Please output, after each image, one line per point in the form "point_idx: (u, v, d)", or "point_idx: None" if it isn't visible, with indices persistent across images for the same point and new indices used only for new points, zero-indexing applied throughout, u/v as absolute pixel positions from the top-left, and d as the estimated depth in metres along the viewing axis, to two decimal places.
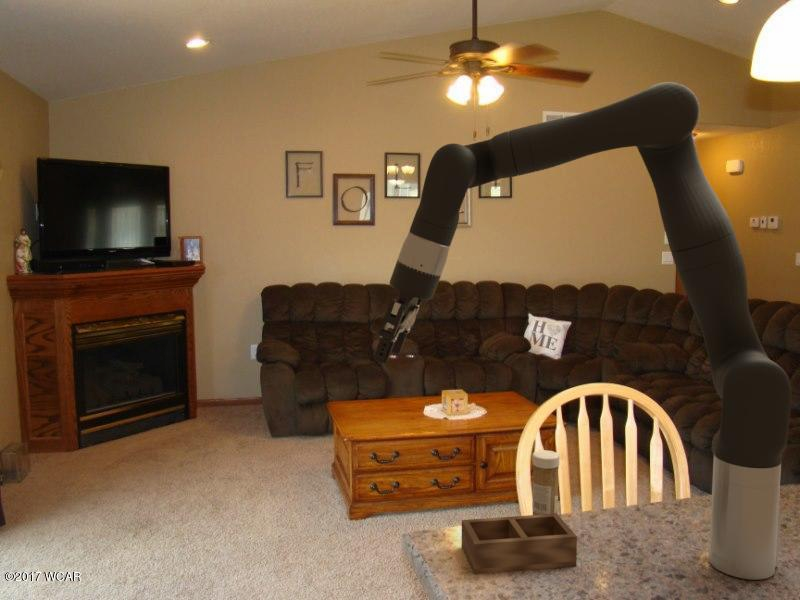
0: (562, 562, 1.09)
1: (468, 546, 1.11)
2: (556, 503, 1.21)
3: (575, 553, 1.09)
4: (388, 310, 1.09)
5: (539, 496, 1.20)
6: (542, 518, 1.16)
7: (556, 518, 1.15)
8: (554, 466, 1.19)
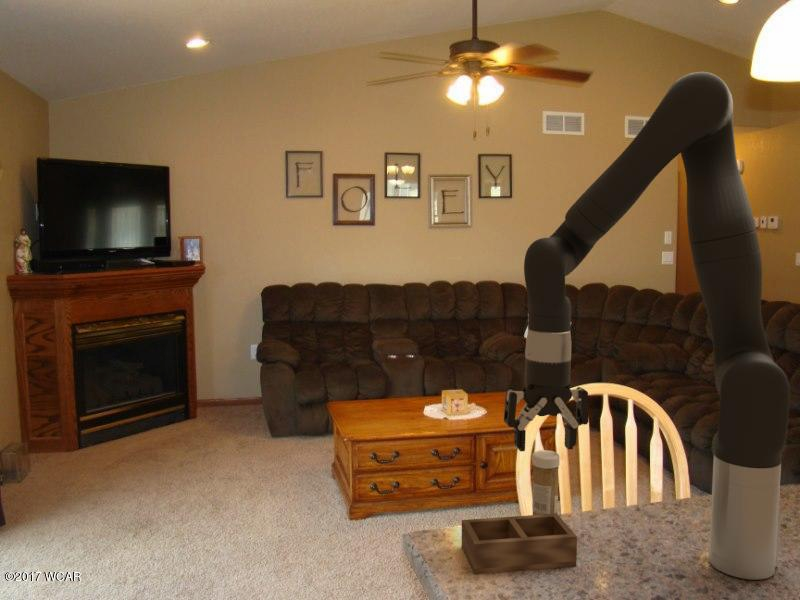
0: (562, 562, 1.09)
1: (468, 546, 1.11)
2: (556, 503, 1.21)
3: (575, 553, 1.09)
4: (505, 398, 1.20)
5: (539, 496, 1.20)
6: (542, 518, 1.16)
7: (556, 518, 1.15)
8: (554, 466, 1.19)
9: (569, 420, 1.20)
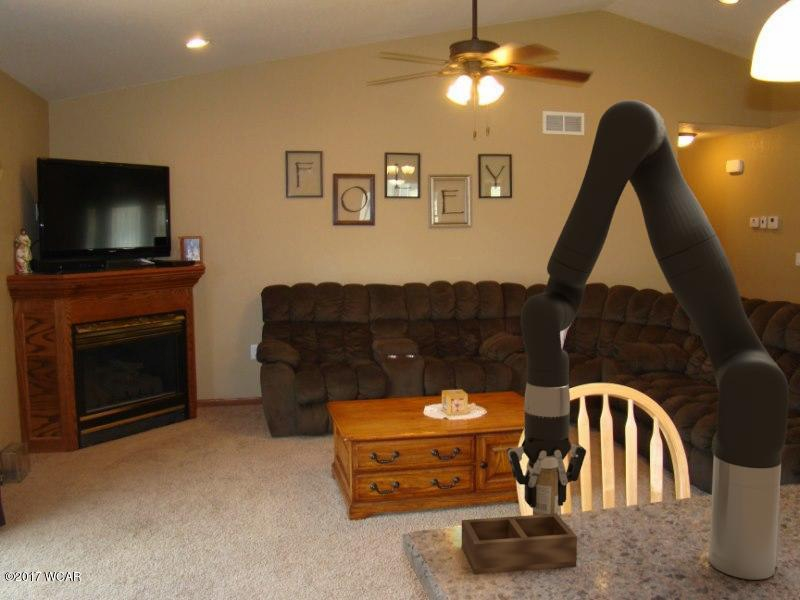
0: (562, 562, 1.09)
1: (468, 546, 1.11)
2: (556, 503, 1.21)
3: (575, 553, 1.09)
4: (508, 458, 1.21)
5: (539, 496, 1.20)
6: (542, 518, 1.16)
7: (556, 518, 1.15)
8: (554, 466, 1.19)
9: (558, 477, 1.21)
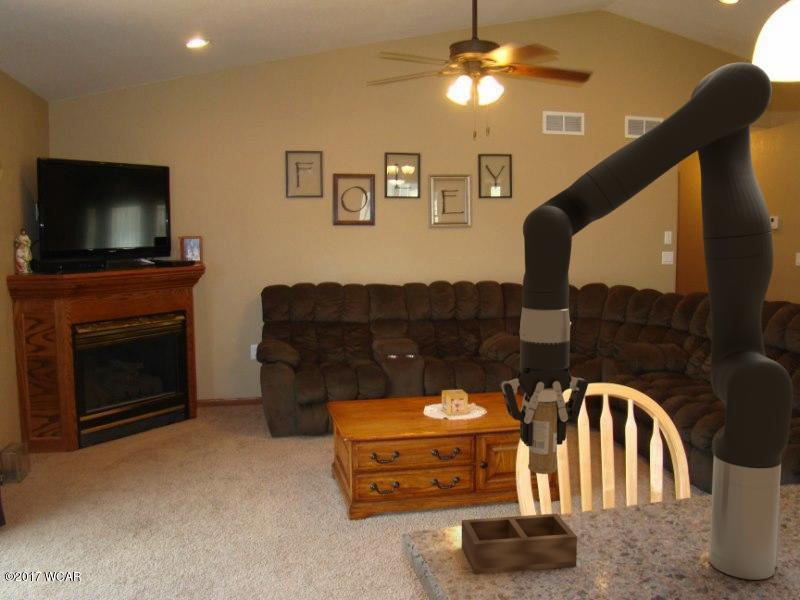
0: (562, 562, 1.09)
1: (468, 546, 1.11)
2: (555, 441, 1.09)
3: (575, 553, 1.09)
4: (502, 391, 1.10)
5: (536, 433, 1.09)
6: (542, 518, 1.16)
7: (556, 518, 1.15)
8: (553, 399, 1.08)
9: (557, 412, 1.09)
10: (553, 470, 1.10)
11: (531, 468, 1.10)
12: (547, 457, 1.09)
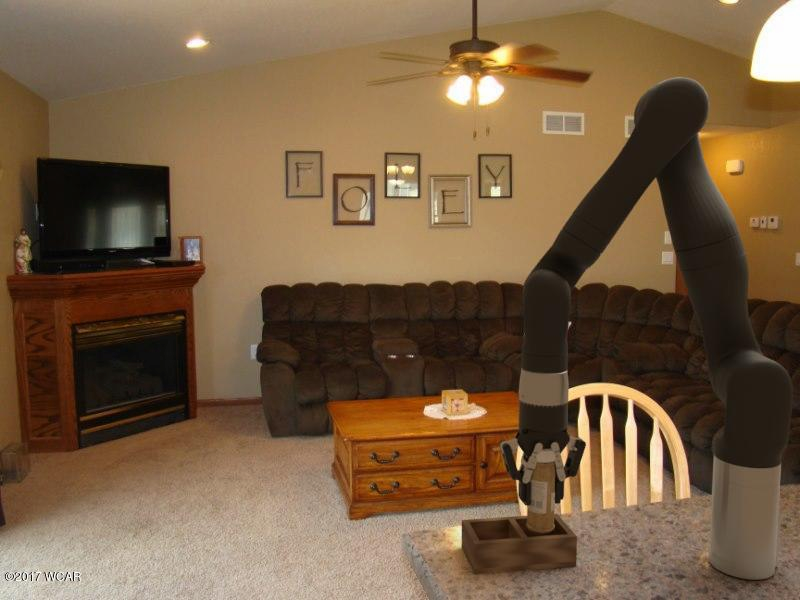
0: (562, 562, 1.09)
1: (468, 546, 1.11)
2: (553, 500, 1.10)
3: (575, 553, 1.09)
4: (501, 451, 1.11)
5: (534, 492, 1.10)
6: None
7: (556, 518, 1.15)
8: (551, 460, 1.09)
9: (556, 472, 1.10)
10: (551, 529, 1.11)
11: (529, 527, 1.11)
12: (545, 517, 1.10)
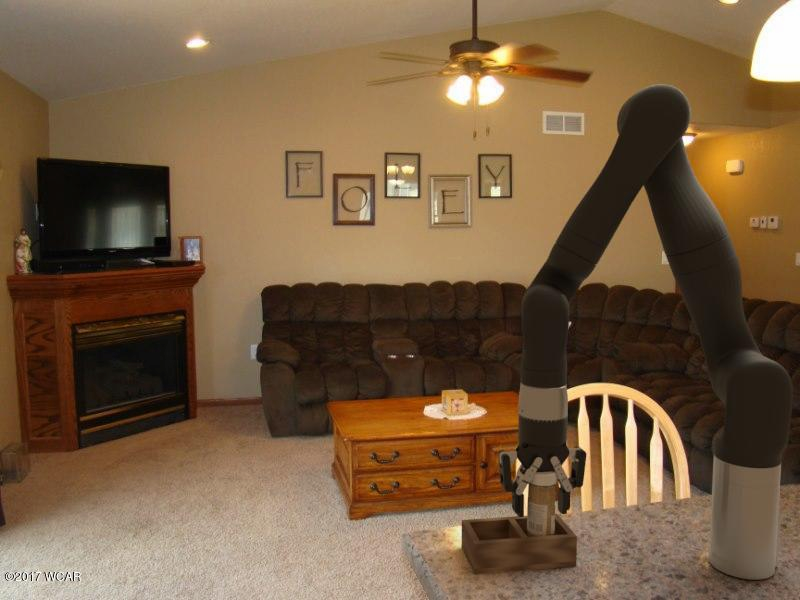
0: (562, 562, 1.09)
1: (468, 546, 1.11)
2: (553, 523, 1.11)
3: (575, 553, 1.09)
4: None
5: (534, 515, 1.10)
6: None
7: (556, 518, 1.15)
8: (551, 483, 1.09)
9: (562, 483, 1.11)
10: None
11: None
12: None
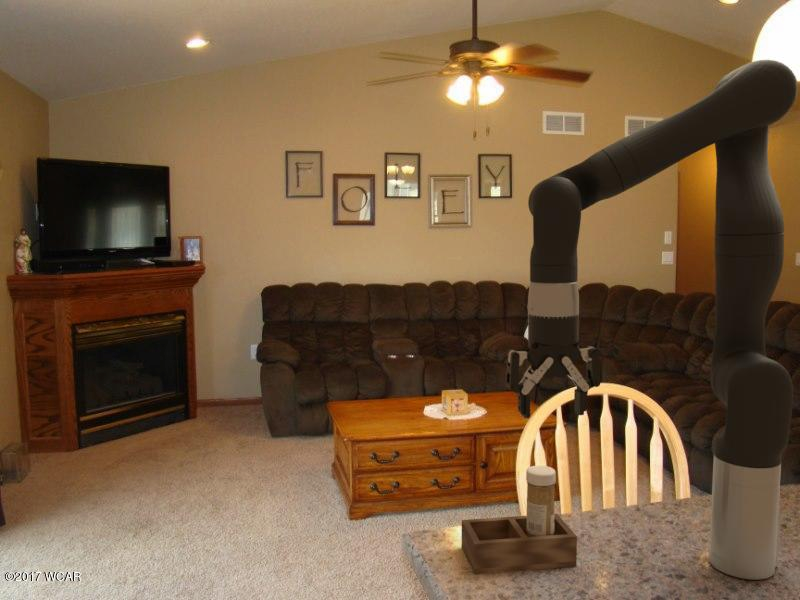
0: (562, 562, 1.09)
1: (468, 546, 1.11)
2: (552, 523, 1.11)
3: (575, 553, 1.09)
4: (507, 360, 1.08)
5: (533, 515, 1.10)
6: None
7: (556, 518, 1.15)
8: (550, 483, 1.10)
9: (579, 382, 1.07)
10: None
11: None
12: None
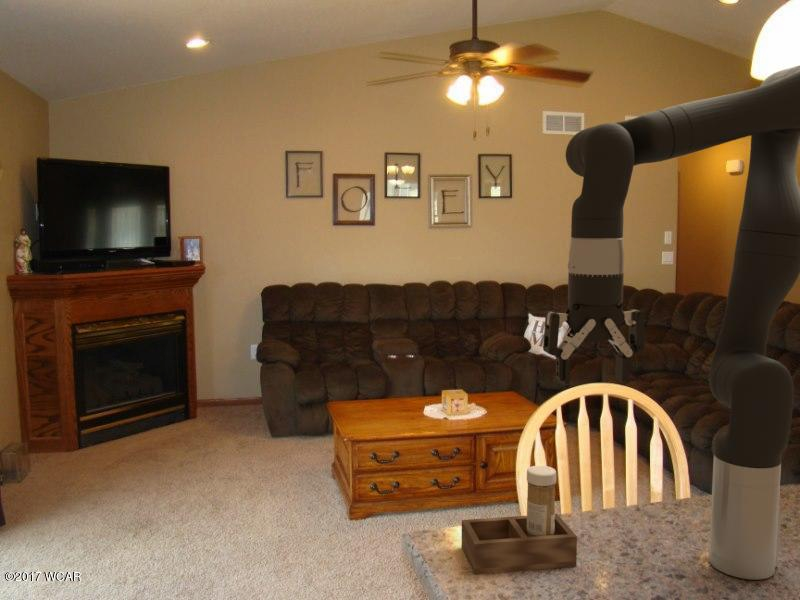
0: (562, 562, 1.09)
1: (468, 546, 1.11)
2: (552, 523, 1.11)
3: (575, 553, 1.09)
4: (545, 322, 1.00)
5: (533, 515, 1.11)
6: None
7: (556, 518, 1.15)
8: (550, 483, 1.10)
9: (622, 347, 1.00)
10: None
11: None
12: None
